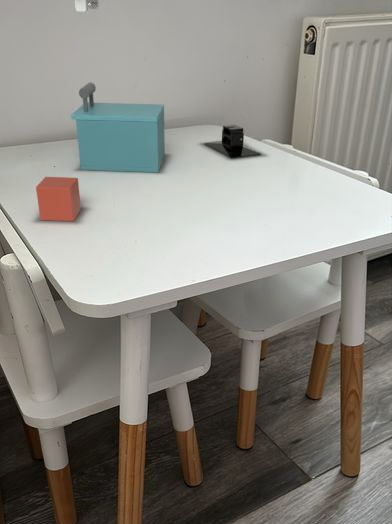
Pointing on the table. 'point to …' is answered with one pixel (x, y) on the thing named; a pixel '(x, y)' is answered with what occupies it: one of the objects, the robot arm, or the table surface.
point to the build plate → (232, 143)
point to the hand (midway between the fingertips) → (87, 10)
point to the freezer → (121, 145)
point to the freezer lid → (114, 109)
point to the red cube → (58, 198)
